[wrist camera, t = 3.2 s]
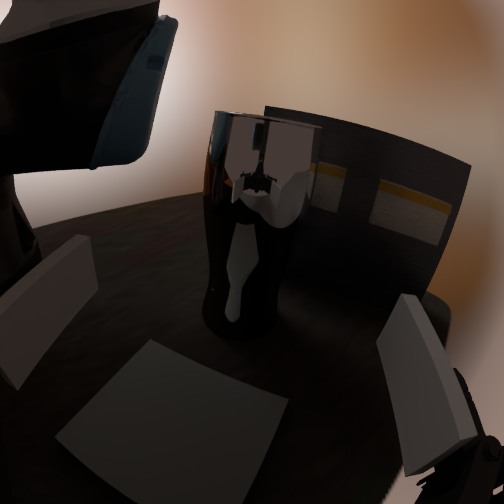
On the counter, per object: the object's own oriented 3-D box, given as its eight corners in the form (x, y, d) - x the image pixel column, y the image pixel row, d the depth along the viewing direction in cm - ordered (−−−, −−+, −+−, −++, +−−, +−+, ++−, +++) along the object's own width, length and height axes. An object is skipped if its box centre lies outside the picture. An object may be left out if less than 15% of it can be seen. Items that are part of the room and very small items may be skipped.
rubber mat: (58, 440, 9) (54, 436, 9) (151, 343, 18) (150, 339, 17) (219, 543, 7) (219, 543, 6) (286, 402, 15) (288, 399, 15)
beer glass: (211, 281, 26) (228, 112, 18) (285, 298, 25) (323, 127, 18) (183, 331, 19) (193, 108, 12) (276, 354, 19) (332, 129, 12)
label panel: (240, 265, 29) (263, 105, 21) (259, 243, 34) (281, 110, 26) (412, 319, 24) (473, 166, 16) (407, 289, 29) (452, 159, 21)
